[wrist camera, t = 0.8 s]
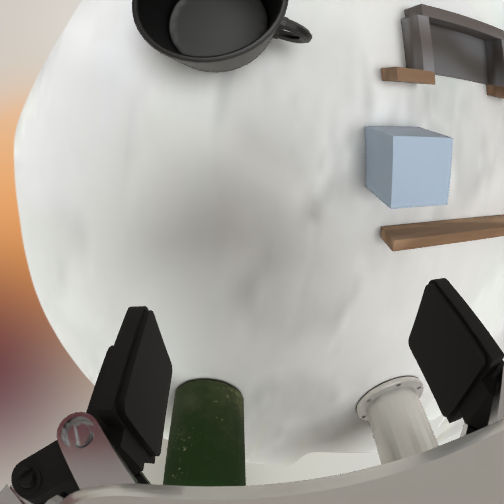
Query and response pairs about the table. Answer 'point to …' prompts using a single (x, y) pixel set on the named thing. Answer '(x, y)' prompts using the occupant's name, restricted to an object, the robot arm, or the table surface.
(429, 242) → the trap box
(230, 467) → the green bottle
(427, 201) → the block
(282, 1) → the mug
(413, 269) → the table surface
